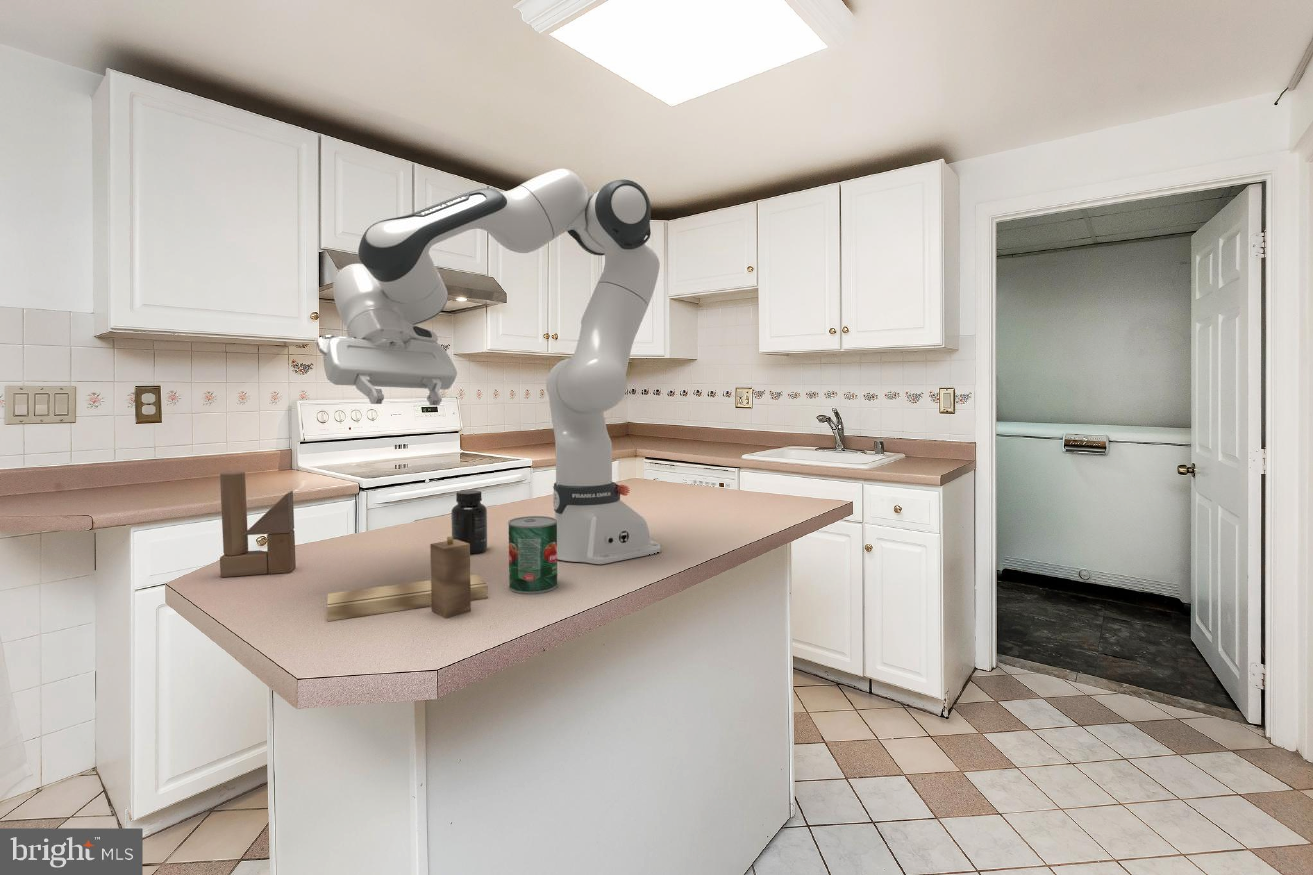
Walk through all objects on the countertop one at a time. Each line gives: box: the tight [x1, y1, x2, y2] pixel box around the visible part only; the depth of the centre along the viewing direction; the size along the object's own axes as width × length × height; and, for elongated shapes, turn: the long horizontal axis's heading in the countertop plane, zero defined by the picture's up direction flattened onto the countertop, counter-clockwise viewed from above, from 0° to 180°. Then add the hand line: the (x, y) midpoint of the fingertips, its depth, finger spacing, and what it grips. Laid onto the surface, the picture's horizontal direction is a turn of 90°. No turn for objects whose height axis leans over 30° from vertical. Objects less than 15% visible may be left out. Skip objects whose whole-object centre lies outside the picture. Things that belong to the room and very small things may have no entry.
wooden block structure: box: [219, 470, 297, 578], centre depth 108 cm, size 4×11×18 cm, turn 107°
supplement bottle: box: [450, 489, 488, 556], centre depth 124 cm, size 7×7×12 cm
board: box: [326, 574, 489, 622], centre depth 94 cm, size 22×6×2 cm, turn 117°
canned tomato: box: [507, 515, 559, 595], centre depth 101 cm, size 8×8×11 cm
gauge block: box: [429, 536, 472, 619], centre depth 90 cm, size 4×4×11 cm
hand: (408, 402), depth 96 cm, fingers open, 8 cm apart
